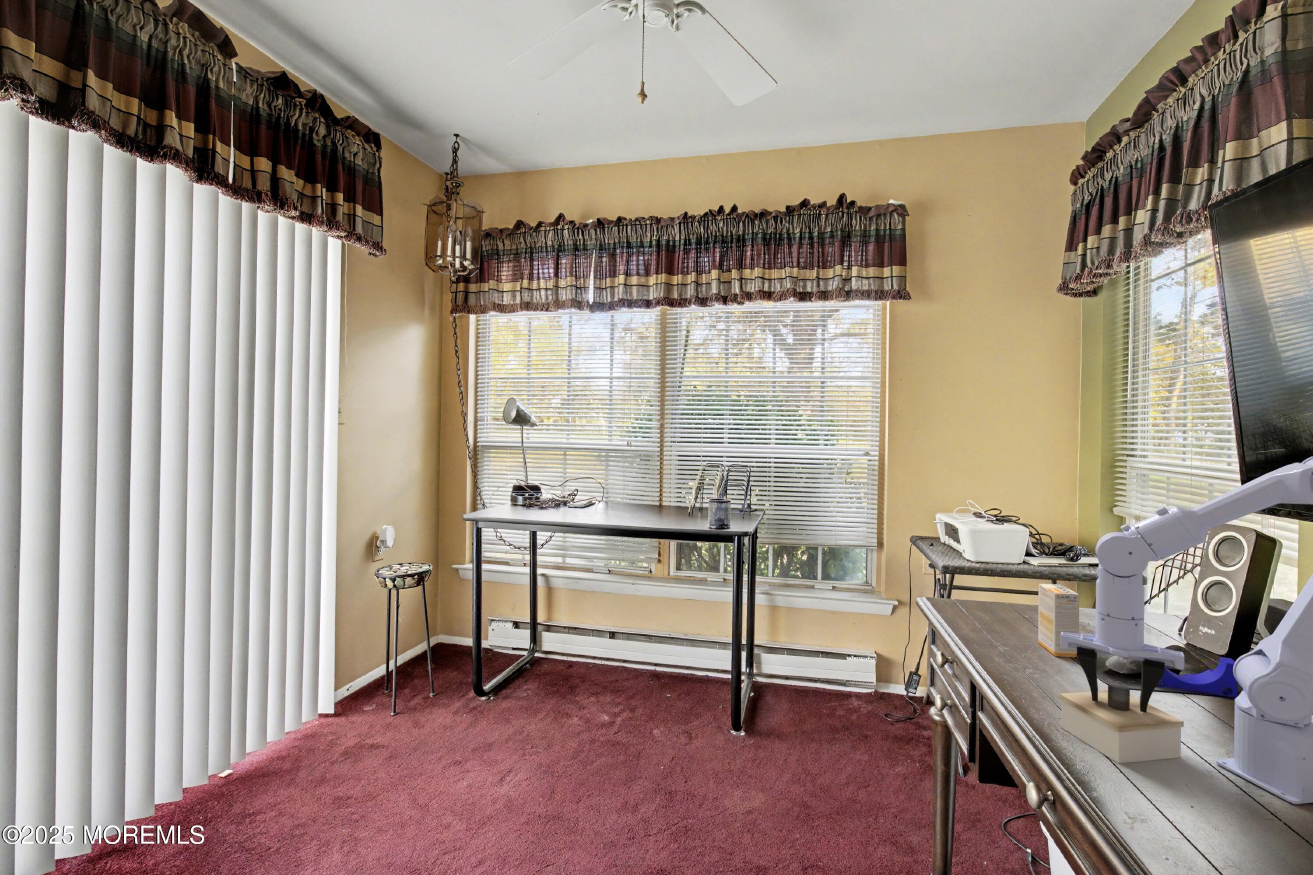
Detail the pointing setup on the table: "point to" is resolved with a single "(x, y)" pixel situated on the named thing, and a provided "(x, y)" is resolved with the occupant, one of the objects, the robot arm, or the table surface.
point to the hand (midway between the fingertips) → (1118, 704)
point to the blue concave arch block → (1206, 680)
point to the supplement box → (1057, 617)
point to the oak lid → (1121, 710)
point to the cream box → (1122, 738)
